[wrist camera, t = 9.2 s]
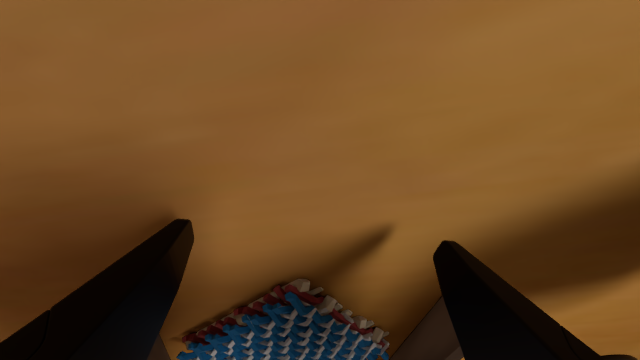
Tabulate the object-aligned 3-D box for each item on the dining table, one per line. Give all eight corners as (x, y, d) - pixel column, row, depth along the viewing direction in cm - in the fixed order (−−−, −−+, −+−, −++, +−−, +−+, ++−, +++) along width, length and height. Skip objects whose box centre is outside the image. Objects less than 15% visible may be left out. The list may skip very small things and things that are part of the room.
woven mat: (288, 367, 22) (287, 397, 20) (181, 327, 16) (167, 363, 15) (393, 327, 18) (402, 359, 16) (298, 261, 13) (297, 298, 11)
